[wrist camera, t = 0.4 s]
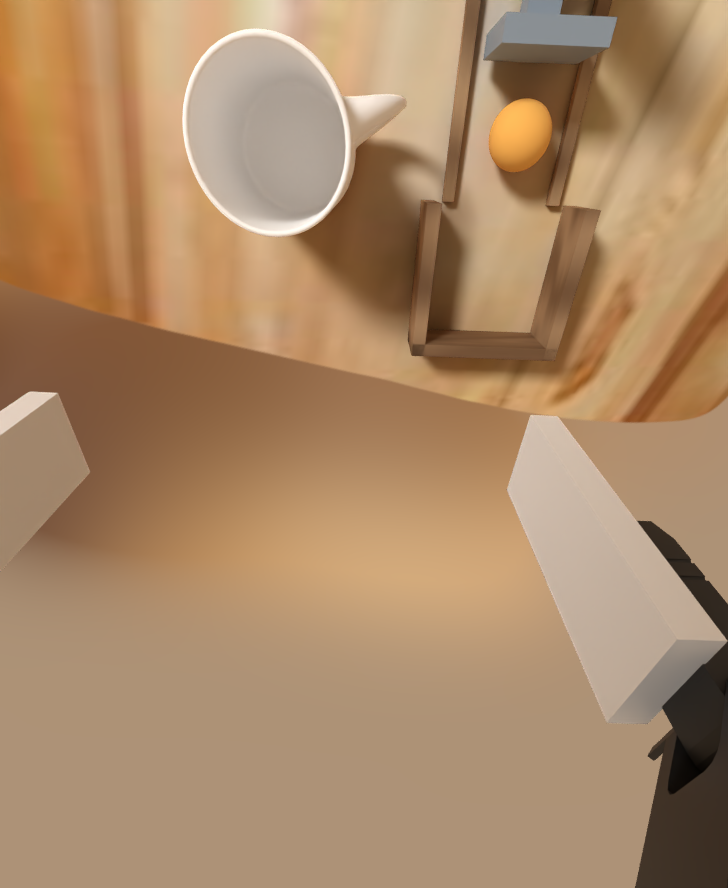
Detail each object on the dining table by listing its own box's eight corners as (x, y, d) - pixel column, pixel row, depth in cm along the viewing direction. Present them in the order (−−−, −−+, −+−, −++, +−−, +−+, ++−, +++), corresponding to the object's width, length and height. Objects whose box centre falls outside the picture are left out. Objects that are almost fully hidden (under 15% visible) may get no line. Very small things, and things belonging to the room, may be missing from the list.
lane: (502, -300, 20) (505, -312, 20) (681, -290, 20) (689, -301, 20) (442, 200, 32) (443, 201, 31) (555, 205, 32) (558, 206, 31)
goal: (421, 199, 32) (427, 203, 28) (576, 206, 32) (600, 210, 28) (407, 339, 38) (411, 355, 34) (538, 344, 38) (554, 360, 35)
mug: (413, 184, 31) (431, 190, 22) (266, 233, 33) (228, 256, 24) (385, 33, 27) (394, -36, 18) (216, 99, 28) (147, 67, 20)
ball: (488, 101, 28) (505, 92, 25) (546, 103, 28) (570, 94, 25) (478, 170, 31) (491, 171, 27) (531, 173, 31) (551, 173, 27)
